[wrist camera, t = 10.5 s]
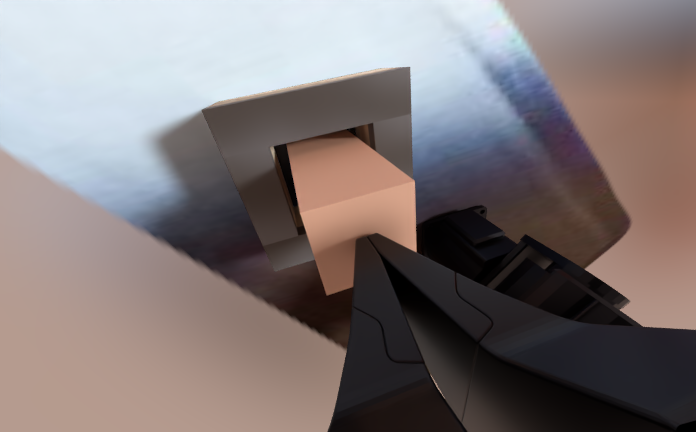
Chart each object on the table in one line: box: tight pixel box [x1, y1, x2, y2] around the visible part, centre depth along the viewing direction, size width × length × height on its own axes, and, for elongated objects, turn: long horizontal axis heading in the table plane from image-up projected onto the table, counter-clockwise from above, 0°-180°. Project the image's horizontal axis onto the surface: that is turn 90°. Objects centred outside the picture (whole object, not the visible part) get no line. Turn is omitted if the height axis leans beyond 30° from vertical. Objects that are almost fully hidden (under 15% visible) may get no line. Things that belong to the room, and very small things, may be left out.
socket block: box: [202, 67, 413, 272], centre depth 16 cm, size 10×10×4 cm
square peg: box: [286, 129, 417, 295], centre depth 13 cm, size 4×4×10 cm
